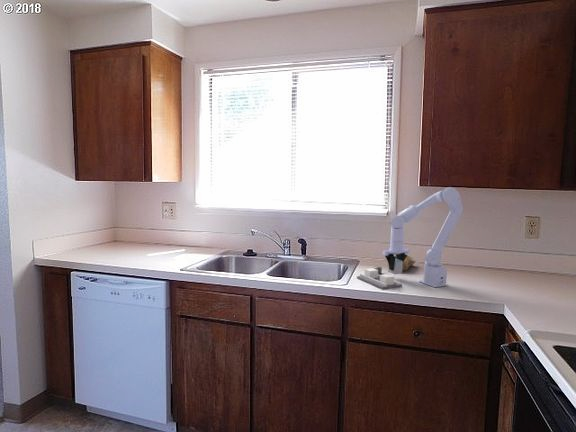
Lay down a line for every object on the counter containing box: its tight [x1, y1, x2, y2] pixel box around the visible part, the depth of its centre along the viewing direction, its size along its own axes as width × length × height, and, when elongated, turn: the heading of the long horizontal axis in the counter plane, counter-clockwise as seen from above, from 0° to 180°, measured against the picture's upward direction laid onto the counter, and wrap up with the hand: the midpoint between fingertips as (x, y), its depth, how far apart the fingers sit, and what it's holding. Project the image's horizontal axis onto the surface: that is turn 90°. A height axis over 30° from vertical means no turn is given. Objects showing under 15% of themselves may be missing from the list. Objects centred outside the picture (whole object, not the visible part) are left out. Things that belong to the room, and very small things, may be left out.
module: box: [387, 259, 403, 275], centre depth 173 cm, size 5×4×6 cm
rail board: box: [356, 267, 403, 290], centre depth 167 cm, size 18×11×4 cm, turn 25°
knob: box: [373, 266, 383, 275], centre depth 183 cm, size 4×4×3 cm
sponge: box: [394, 254, 416, 272], centre depth 194 cm, size 13×8×20 cm
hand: (395, 269), depth 173 cm, fingers closed on module, 4 cm apart
